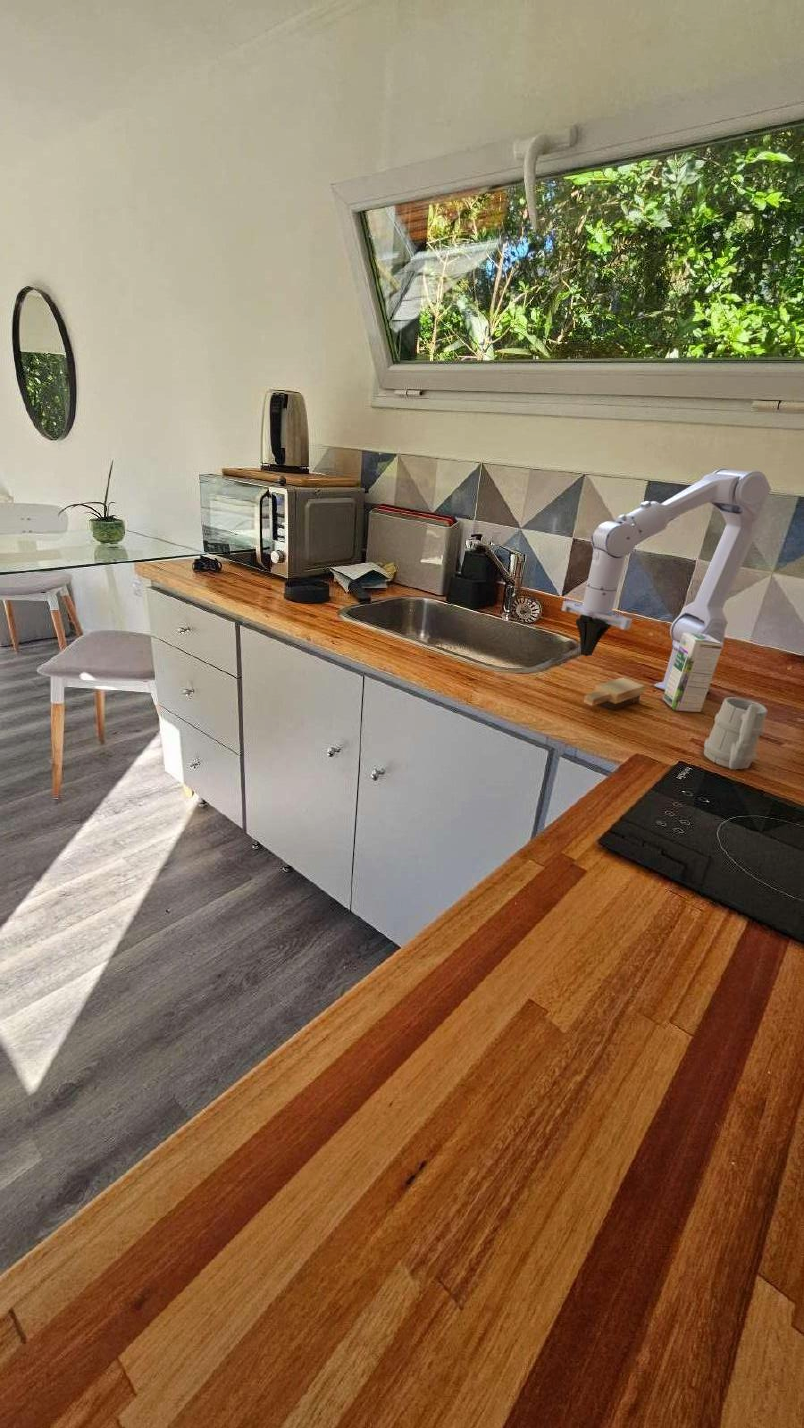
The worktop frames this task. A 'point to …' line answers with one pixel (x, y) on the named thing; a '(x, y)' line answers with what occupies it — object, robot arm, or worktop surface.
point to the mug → (735, 733)
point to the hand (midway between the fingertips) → (586, 654)
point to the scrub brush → (615, 693)
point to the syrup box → (692, 672)
